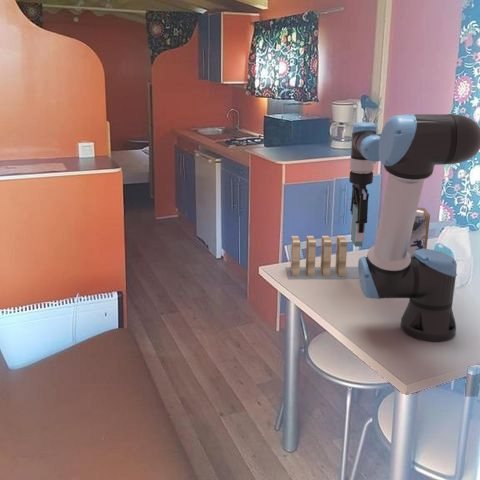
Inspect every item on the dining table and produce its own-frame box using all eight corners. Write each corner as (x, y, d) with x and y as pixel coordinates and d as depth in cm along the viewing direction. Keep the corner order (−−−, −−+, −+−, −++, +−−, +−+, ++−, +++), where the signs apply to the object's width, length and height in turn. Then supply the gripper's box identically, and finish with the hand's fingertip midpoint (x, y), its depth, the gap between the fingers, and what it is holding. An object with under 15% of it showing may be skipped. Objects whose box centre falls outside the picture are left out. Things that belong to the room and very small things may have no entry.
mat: (378, 279, 198) (378, 278, 198) (288, 280, 198) (288, 279, 198) (370, 267, 210) (370, 266, 210) (285, 268, 209) (285, 267, 209)
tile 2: (314, 276, 200) (315, 242, 196) (307, 276, 200) (309, 242, 196) (312, 269, 207) (313, 236, 203) (305, 269, 207) (306, 236, 203)
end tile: (362, 246, 188) (365, 209, 183) (355, 246, 188) (357, 209, 183) (357, 239, 194) (360, 203, 190) (350, 239, 194) (353, 203, 190)
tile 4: (345, 276, 200) (347, 241, 196) (338, 276, 200) (340, 241, 196) (341, 269, 207) (343, 235, 203) (335, 269, 207) (337, 235, 203)
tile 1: (299, 276, 200) (300, 242, 196) (292, 276, 200) (293, 242, 196) (297, 269, 207) (298, 236, 203) (290, 269, 207) (291, 236, 203)
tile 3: (329, 276, 200) (331, 241, 196) (323, 276, 200) (324, 242, 196) (326, 269, 207) (328, 235, 203) (320, 269, 207) (321, 235, 203)
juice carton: (392, 291, 189) (399, 213, 180) (392, 279, 198) (398, 205, 190) (420, 293, 187) (428, 215, 178) (418, 281, 196) (426, 207, 188)
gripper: (380, 177, 173) (375, 247, 181) (366, 164, 192) (361, 228, 200) (356, 178, 173) (352, 247, 181) (344, 164, 192) (340, 228, 200)
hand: (356, 237), depth 190 cm, fingers closed on end tile, 7 cm apart
